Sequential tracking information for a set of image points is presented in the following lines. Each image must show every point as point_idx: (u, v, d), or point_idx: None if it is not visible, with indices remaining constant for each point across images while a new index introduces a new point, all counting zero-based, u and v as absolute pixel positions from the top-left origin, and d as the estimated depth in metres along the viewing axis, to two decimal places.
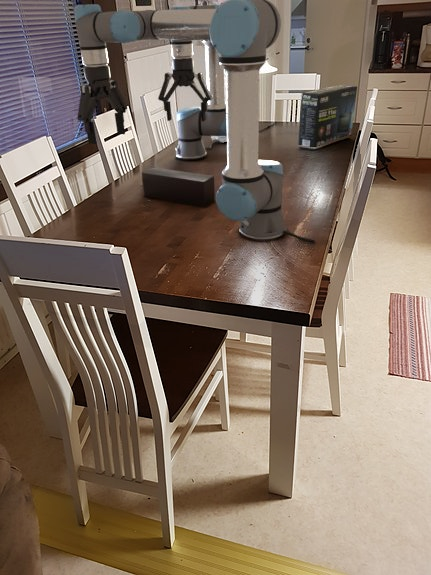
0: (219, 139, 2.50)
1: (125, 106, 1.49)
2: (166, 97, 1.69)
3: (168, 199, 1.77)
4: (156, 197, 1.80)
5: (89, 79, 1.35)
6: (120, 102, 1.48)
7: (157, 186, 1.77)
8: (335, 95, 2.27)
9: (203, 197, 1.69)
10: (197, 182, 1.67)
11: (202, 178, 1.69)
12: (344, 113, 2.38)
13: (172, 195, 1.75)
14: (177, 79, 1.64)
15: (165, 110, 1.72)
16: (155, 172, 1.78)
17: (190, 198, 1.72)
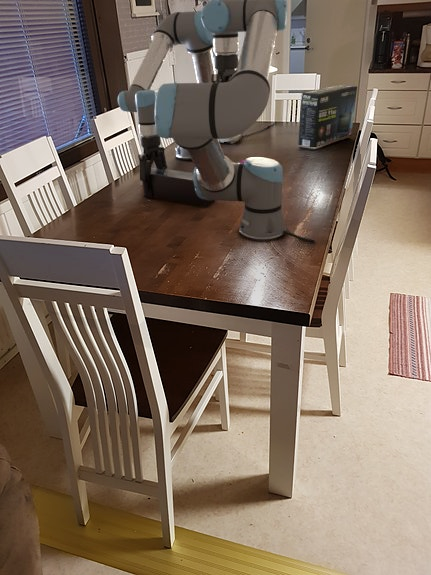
0: (219, 139, 2.50)
1: None
2: None
3: (168, 199, 1.77)
4: (156, 197, 1.80)
5: (220, 67, 1.35)
6: None
7: (157, 186, 1.77)
8: (335, 95, 2.27)
9: None
10: None
11: None
12: (344, 113, 2.38)
13: (172, 195, 1.75)
14: None
15: None
16: (155, 172, 1.78)
17: (190, 198, 1.72)
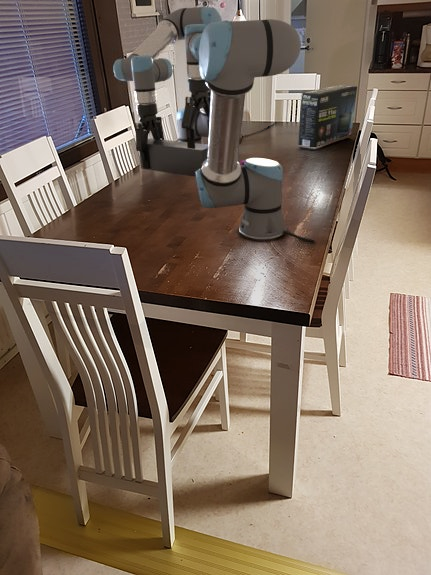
0: None
1: None
2: None
3: (165, 170, 1.72)
4: (153, 169, 1.74)
5: (193, 91, 1.50)
6: None
7: (154, 157, 1.71)
8: (335, 95, 2.27)
9: (201, 167, 1.63)
10: (195, 151, 1.61)
11: (200, 147, 1.63)
12: (344, 113, 2.38)
13: (169, 166, 1.70)
14: None
15: None
16: (152, 142, 1.72)
17: (188, 168, 1.66)
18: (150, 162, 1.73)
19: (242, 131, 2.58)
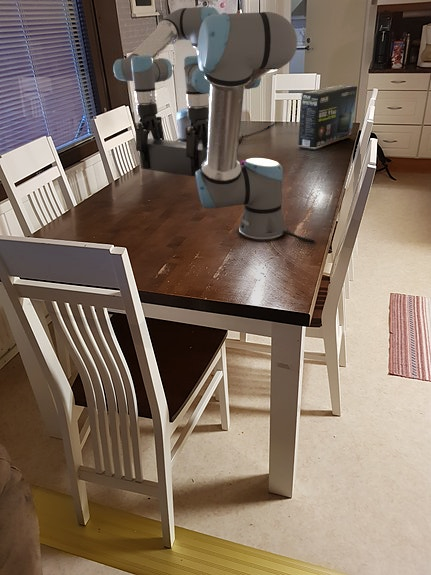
0: None
1: None
2: None
3: (165, 170, 1.72)
4: (153, 168, 1.74)
5: (192, 118, 1.55)
6: None
7: (154, 157, 1.71)
8: (335, 95, 2.27)
9: (201, 167, 1.63)
10: None
11: (200, 147, 1.63)
12: (344, 113, 2.38)
13: (169, 166, 1.70)
14: None
15: None
16: (152, 142, 1.72)
17: (188, 168, 1.66)
18: (150, 162, 1.73)
19: (242, 131, 2.58)
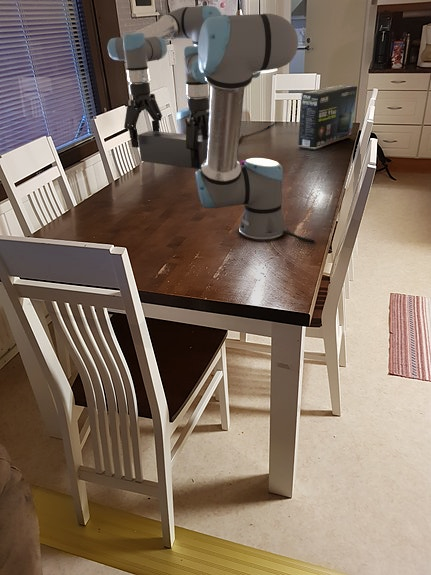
0: None
1: None
2: None
3: (165, 162, 1.70)
4: (153, 161, 1.73)
5: (192, 109, 1.54)
6: None
7: (154, 149, 1.70)
8: (335, 95, 2.27)
9: (201, 159, 1.61)
10: None
11: (200, 139, 1.61)
12: (344, 113, 2.38)
13: (169, 158, 1.68)
14: None
15: None
16: (152, 134, 1.70)
17: (188, 160, 1.64)
18: (150, 154, 1.72)
19: (242, 131, 2.58)
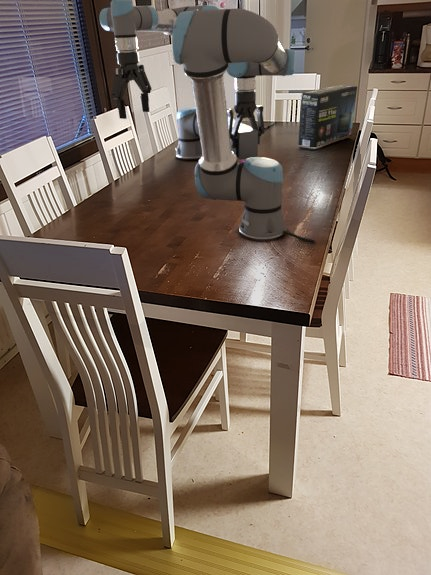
0: None
1: (263, 130, 1.71)
2: None
3: None
4: None
5: (235, 101, 1.63)
6: (260, 125, 1.71)
7: None
8: (335, 95, 2.27)
9: (238, 149, 1.70)
10: None
11: (244, 130, 1.69)
12: (344, 113, 2.38)
13: None
14: None
15: None
16: None
17: (232, 148, 1.75)
18: None
19: None
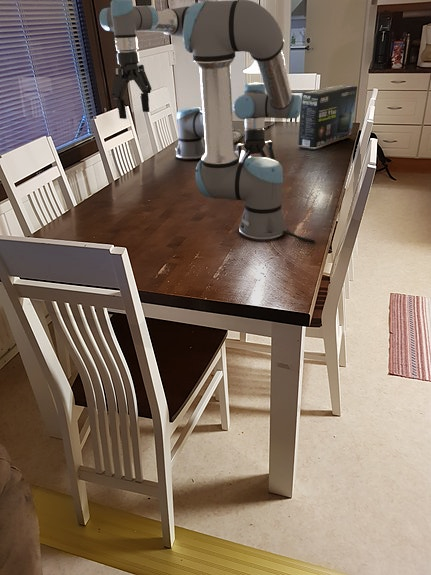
0: None
1: None
2: None
3: None
4: None
5: (245, 138, 1.72)
6: None
7: None
8: (335, 95, 2.27)
9: None
10: None
11: None
12: (344, 113, 2.38)
13: None
14: None
15: None
16: None
17: None
18: None
19: (242, 131, 2.58)
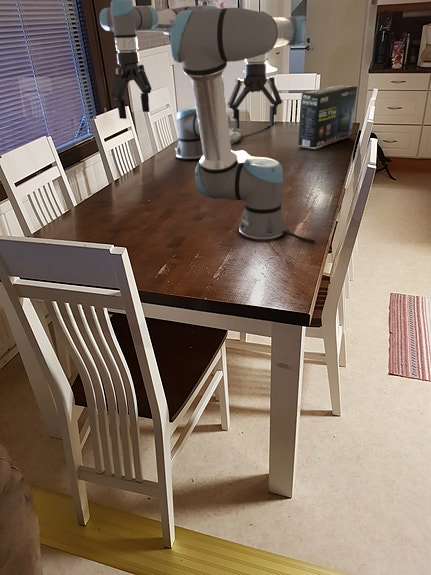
0: None
1: (280, 101, 1.67)
2: None
3: None
4: None
5: (245, 74, 1.61)
6: (275, 96, 1.67)
7: None
8: (335, 95, 2.27)
9: None
10: None
11: None
12: (344, 113, 2.38)
13: None
14: None
15: None
16: None
17: None
18: None
19: (242, 131, 2.58)
